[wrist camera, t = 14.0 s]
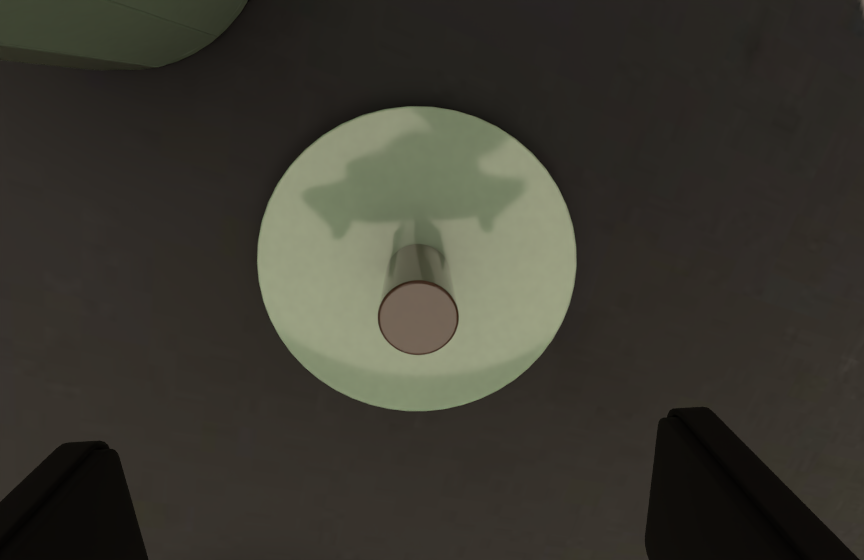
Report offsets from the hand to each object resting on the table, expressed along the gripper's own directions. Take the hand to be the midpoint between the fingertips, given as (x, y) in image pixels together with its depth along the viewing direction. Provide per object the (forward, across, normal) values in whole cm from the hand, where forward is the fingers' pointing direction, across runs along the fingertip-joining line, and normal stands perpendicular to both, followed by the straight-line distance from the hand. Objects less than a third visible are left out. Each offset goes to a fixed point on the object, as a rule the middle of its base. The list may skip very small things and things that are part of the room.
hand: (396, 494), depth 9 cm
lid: (+13, 0, 0) cm, 13 cm away
